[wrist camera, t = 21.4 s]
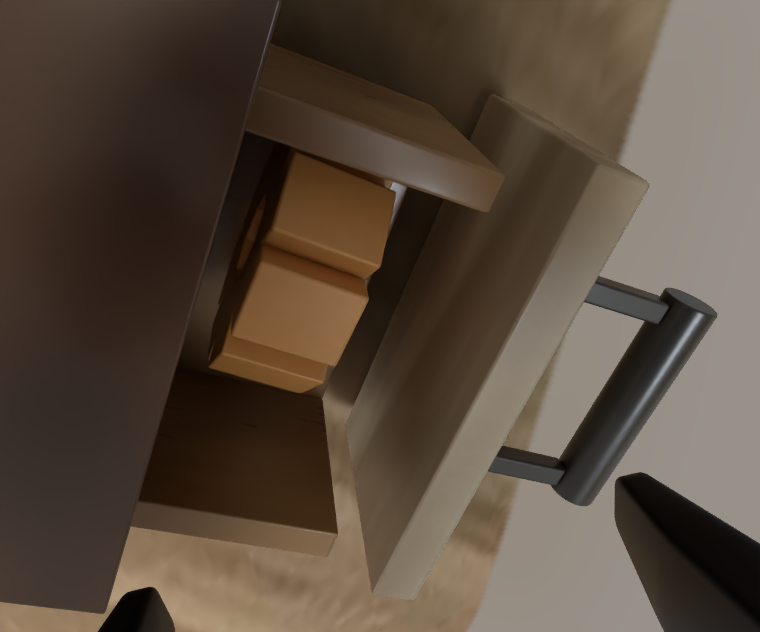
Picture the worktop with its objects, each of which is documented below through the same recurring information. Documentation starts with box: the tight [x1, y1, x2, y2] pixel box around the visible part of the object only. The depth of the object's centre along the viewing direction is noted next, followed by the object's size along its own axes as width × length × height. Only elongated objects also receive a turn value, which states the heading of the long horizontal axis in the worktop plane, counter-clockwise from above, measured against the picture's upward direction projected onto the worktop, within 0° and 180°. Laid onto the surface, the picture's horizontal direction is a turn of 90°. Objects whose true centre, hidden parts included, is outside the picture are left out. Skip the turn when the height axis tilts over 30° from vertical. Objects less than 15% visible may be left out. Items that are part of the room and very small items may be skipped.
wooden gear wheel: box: [208, 142, 396, 393], centre depth 15 cm, size 6×6×2 cm
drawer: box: [131, 43, 717, 600], centre depth 17 cm, size 17×12×7 cm
